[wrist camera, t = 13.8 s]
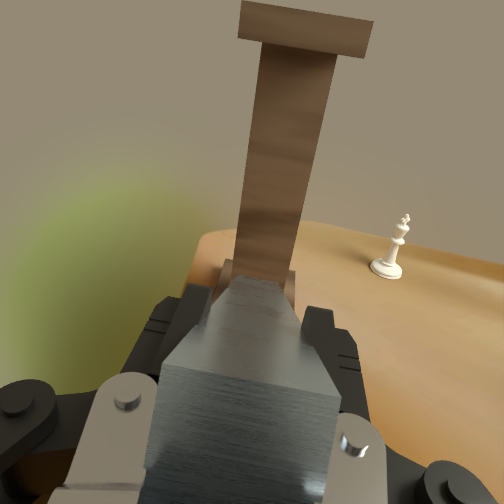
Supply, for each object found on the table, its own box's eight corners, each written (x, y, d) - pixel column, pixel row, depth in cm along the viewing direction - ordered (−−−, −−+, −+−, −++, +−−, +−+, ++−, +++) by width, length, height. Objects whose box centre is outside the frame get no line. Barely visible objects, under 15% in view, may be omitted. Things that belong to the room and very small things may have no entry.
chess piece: (407, 275, 61) (431, 219, 55) (387, 282, 58) (410, 224, 53) (383, 259, 64) (404, 205, 59) (363, 265, 61) (383, 209, 56)
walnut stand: (289, 382, 39) (390, 24, 23) (194, 365, 39) (225, -3, 23) (292, 274, 56) (351, 25, 40) (226, 262, 56) (257, 10, 40)
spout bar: (308, 576, 6) (341, 397, 6) (129, 540, 6) (161, 362, 6) (270, 321, 28) (278, 282, 28) (231, 314, 28) (238, 274, 28)
